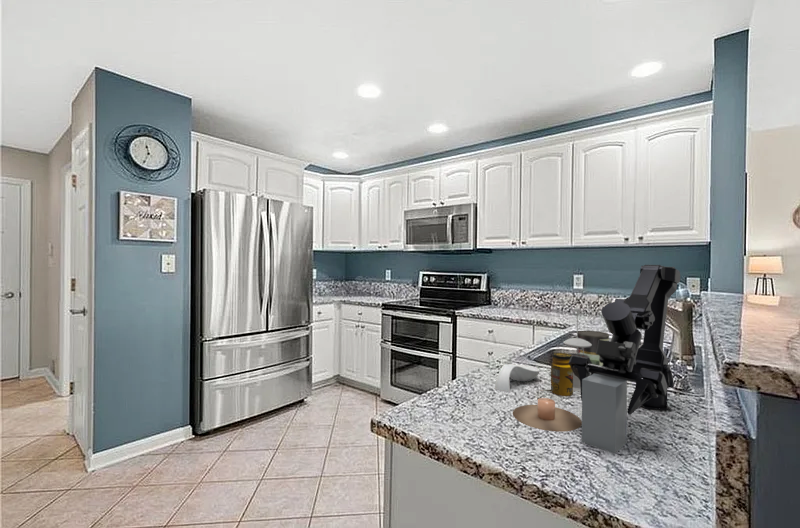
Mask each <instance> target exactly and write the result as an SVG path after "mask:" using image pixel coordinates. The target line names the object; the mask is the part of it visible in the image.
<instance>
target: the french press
mask: <svg viewBox="0 0 800 528" xmlns="http://www.w3.org/2000/svg"><path fill="white" fill-rule="evenodd" d="M573 312H576V337H571V338H568V339H566V340H564V341H563V344H564V345H566V346H568V347H572V348H575V349H576V351H577V350H582V349H583V355H582V354H579V352H578V353H577V352H576V353H574V352H573V353H572V352H568V353H567V354H570V355H571V356H574V355H577V356H582V357H588V358H590V357H589V356H587V355H584V348H586V347H591V346H592V344H591V343H589V342H588V341H586V340H583V339H580V338H578V331H579V330H578V329H579V328H578V327H579V324H578V323H579V321H578V320H579V319H578V317H579V312H582V311H581V307H577V306H576V307H574V309H573ZM578 347H581V348H582V349H578ZM576 391H579V392H578V393H581V387H580V380H579V378H578V377H577V376H575V375H574V373H573V392H576Z"/></svg>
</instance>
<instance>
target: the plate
mask: <svg viewBox="0 0 800 528" xmlns="http://www.w3.org/2000/svg"><path fill="white" fill-rule="evenodd" d="M512 416H513V417H514V418H515V420H517V422H519V423H522V425H525V426H528V427H531V428H533V429H537V430H542V431H548V432H558V433H559V432H562V433H563V432H572V431H575V430H578V429H580V428H582V418H580V417H579V416H577V415H576V414H575V413H573V412H571V411H569V410H566V409H563V408H560V407H556V406H555V419H554V420H543V419H541V418H539V417H538V404H527V405H520V406H518V407H516V408H515V409H513V411H512Z"/></svg>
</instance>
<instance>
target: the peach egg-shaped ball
mask: <svg viewBox="0 0 800 528" xmlns="http://www.w3.org/2000/svg"><path fill="white" fill-rule="evenodd" d="M537 405H538V417H539V418H541V419H543V420H554V419H555V407H556V401H555V400H554V399H552V398H548V397H540V398H538V399H537Z"/></svg>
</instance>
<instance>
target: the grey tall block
mask: <svg viewBox="0 0 800 528" xmlns="http://www.w3.org/2000/svg"><path fill="white" fill-rule="evenodd" d="M627 402H628V381H627V380H623V379H618V378H613V377H609V376H604V375H599V374H595V373H594V374H592V375H590V376H588V377H586V378H584V379H582V401H581V421H582V425H581V443H583V444H587V445H588V446H592V447H595V448H597V449H601V450H603V451H606V452H609V453H612V454H615V455H616V454H617V453H618V452H619V451H620V450H622V448H623V447H624V446H625V445H626V444H627V435H628V434H627V431H628V428H627V423H628V422H627V420H628V419H627V418H628V417H627V415H628V413H627V411H628V403H627Z"/></svg>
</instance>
